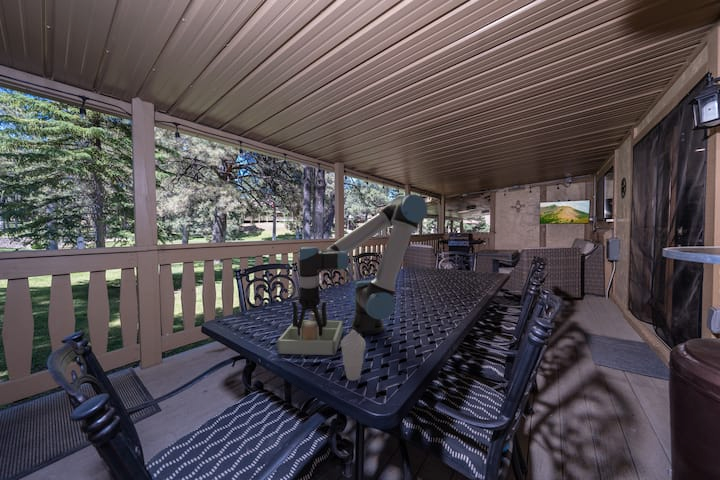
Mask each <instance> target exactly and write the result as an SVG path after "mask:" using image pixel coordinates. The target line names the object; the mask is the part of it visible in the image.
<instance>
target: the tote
mask: <svg viewBox="0 0 720 480" xmlns="http://www.w3.org/2000/svg"><path fill="white" fill-rule="evenodd" d="M307 321H309V319H308V320H307V319H305V320H304V319H303V323H305V322H307ZM298 322H299V319H298ZM303 323H302V325H303ZM343 325H344V324H343V320H327V325H326V326H325V327H323V328H322V331H323V333H322V336H320V340H300V336H299V335H298V328H297V327H296V326H293V322H292V323H291V324H290V325H289V326H288V328H287V329H286V330H285V331H284V332H283V333H282V334H281V336H280V337H279V338H278V339H277V340H276V347H277V348H276V349H277V352H276V353H277V354H278V355H281V354H282V355H283V354H285V355H311V356H312V355H313V356H314V355H315V356H316V355H317V356H319V355H320V356H322V355H323V356H335V355H336V354H337V350H338V347H339V346H340V343H341V340H342V339H341V338H342V335H343V331H344V329H343Z"/></svg>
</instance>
